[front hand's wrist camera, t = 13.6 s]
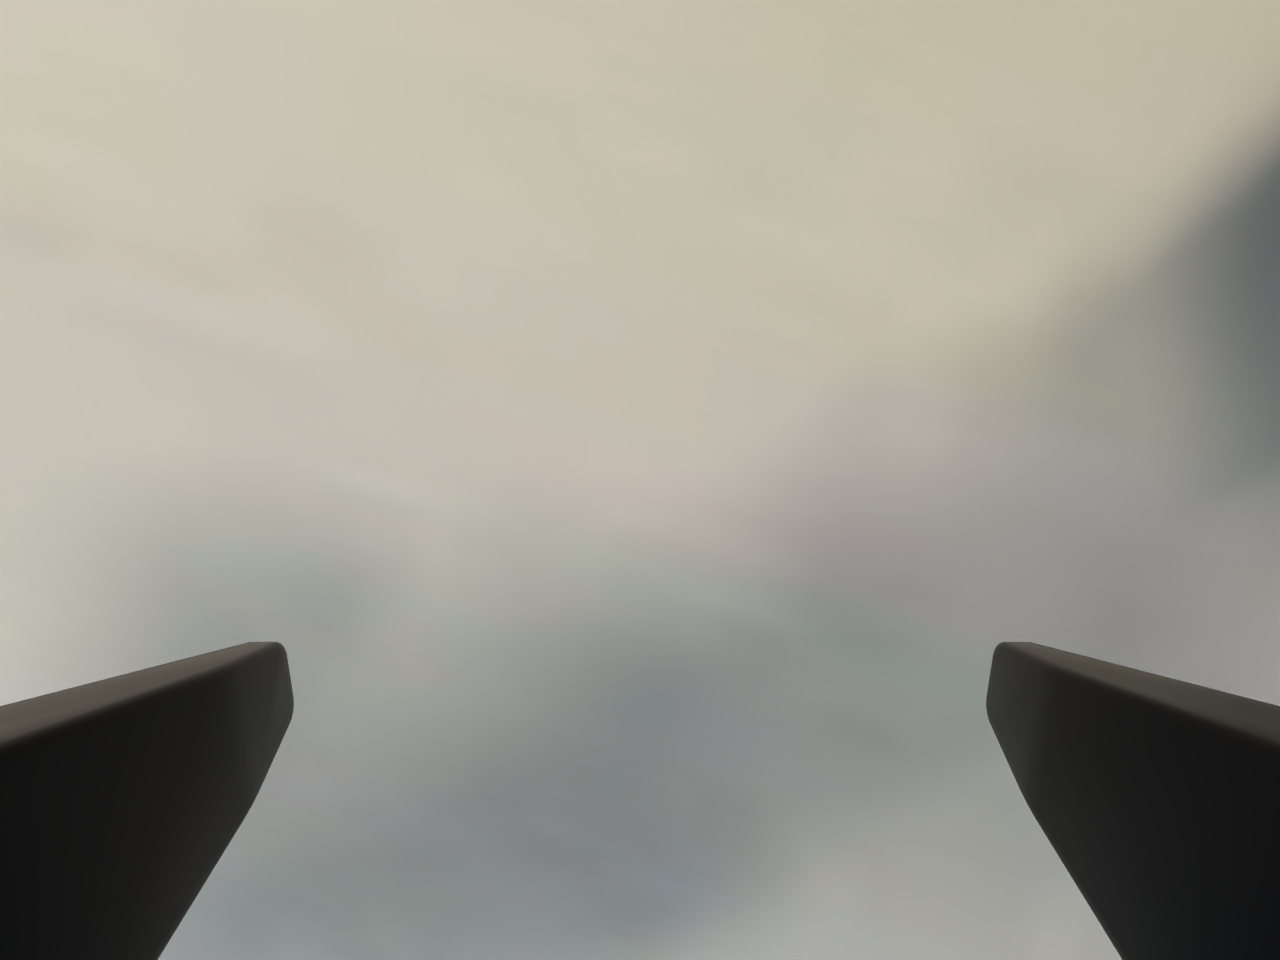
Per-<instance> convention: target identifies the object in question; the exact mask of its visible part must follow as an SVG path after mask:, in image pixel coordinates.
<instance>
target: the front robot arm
mask: <svg viewBox="0 0 1280 960" xmlns="http://www.w3.org/2000/svg"><path fill="white" fill-rule="evenodd" d="M293 707H294V699H293V692H292V685H291V679H290V672H289V666H288V659H287V654H286V651H285V648H284V646H283V645H282V644H280V643H278V642H248V643H245V644H241V645H237V646H233V647H229V648H225V649H221V650H217V651H213V652H210V653H206V654H202V655H198V656H194V657H190V658H186V659H182V660H178V661H175V662H171V663H167V664H163V665H159V666H155V667H151V668H147V669H143V670H140V671H136V672H132V673H128V674H124V675H120V676H116V677H112V678H108V679H105V680H101V681H97V682H93V683H89V684H85V685H81V686H77V687H73V688H70V689H66V690H62V691H58V692H54V693H50V694H46V695H42V696H38V697H35V698H31V699H27V700H23V701H19V702H15V703H11V704H7V705H4V706H0V960H158V958H159V956H160V955H161V953H162V952H163V950H164V948H165V947H166V945H167V943H168V942H169V940H170V939H171V937H172V935H173V934H174V932H175V930H176V929H177V927H178V926H179V924H180V922H181V921H182V919H183V917H184V916H185V914H186V913H187V911H188V909H189V908H190V906H191V904H192V903H193V901H194V900H195V898H196V896H197V895H198V893H199V891H200V890H201V888H202V886H203V885H204V883H205V882H206V880H207V878H208V877H209V875H210V873H211V872H212V870H213V869H214V867H215V865H216V864H217V862H218V860H219V859H220V857H221V856H222V854H223V852H224V851H225V849H226V847H227V846H228V844H229V843H230V841H231V839H232V838H233V836H234V834H235V833H236V831H237V830H238V828H239V826H240V825H241V823H242V821H243V820H244V818H245V816H246V815H247V813H248V811H249V809H250V808H251V806H252V804H253V802H254V800H255V798H256V796H257V794H258V792H259V790H260V788H261V786H262V783H263V781H264V779H265V777H266V775H267V772H268V770H269V768H270V766H271V764H272V761H273V759H274V757H275V755H276V752H277V750H278V748H279V746H280V744H281V741H282V739H283V737H284V735H285V732H286V730H287V728H288V726H289V724H290V721H291V718H292V714H293ZM986 707H987V714H988V718H989V721H990V724H991V726H992V728H993V730H994V733H995V735H996V737H997V739H998V741H999V744H1000V746H1001V748H1002V750H1003V752H1004V755H1005V757H1006V759H1007V761H1008V764H1009V766H1010V768H1011V770H1012V772H1013V775H1014V777H1015V779H1016V781H1017V783H1018V786H1019V788H1020V790H1021V792H1022V794H1023V796H1024V798H1025V800H1026V802H1027V804H1028V806H1029V808H1030V809H1031V811H1032V813H1033V815H1034V816H1035V818H1036V820H1037V821H1038V823H1039V825H1040V826H1041V828H1042V830H1043V831H1044V833H1045V834H1046V836H1047V838H1048V839H1049V841H1050V843H1051V844H1052V846H1053V847H1054V849H1055V851H1056V852H1057V854H1058V856H1059V857H1060V859H1061V860H1062V862H1063V864H1064V865H1065V867H1066V869H1067V870H1068V872H1069V873H1070V875H1071V877H1072V878H1073V880H1074V882H1075V883H1076V885H1077V886H1078V888H1079V890H1080V891H1081V893H1082V895H1083V896H1084V898H1085V899H1086V901H1087V903H1088V904H1089V906H1090V908H1091V909H1092V911H1093V912H1094V914H1095V916H1096V917H1097V919H1098V921H1099V922H1100V924H1101V925H1102V927H1103V929H1104V930H1105V932H1106V934H1107V935H1108V937H1109V939H1110V940H1111V942H1112V943H1113V945H1114V947H1115V948H1116V950H1117V952H1118V953H1119V955H1120V956H1121V958H1122V960H1280V706H1277V705H1273V704H1269V703H1265V702H1261V701H1257V700H1253V699H1249V698H1245V697H1242V696H1238V695H1234V694H1230V693H1226V692H1222V691H1218V690H1214V689H1210V688H1207V687H1203V686H1199V685H1195V684H1191V683H1187V682H1183V681H1179V680H1175V679H1172V678H1168V677H1164V676H1160V675H1156V674H1152V673H1148V672H1144V671H1140V670H1137V669H1133V668H1129V667H1125V666H1121V665H1117V664H1113V663H1109V662H1105V661H1102V660H1098V659H1094V658H1090V657H1086V656H1082V655H1078V654H1074V653H1070V652H1067V651H1063V650H1059V649H1055V648H1051V647H1047V646H1043V645H1039V644H1035V643H1032V642H1002V643H1000V644H998V645H997V646H996V648H995V651H994V654H993V659H992V666H991V672H990V679H989V685H988V692H987V699H986Z"/></svg>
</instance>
